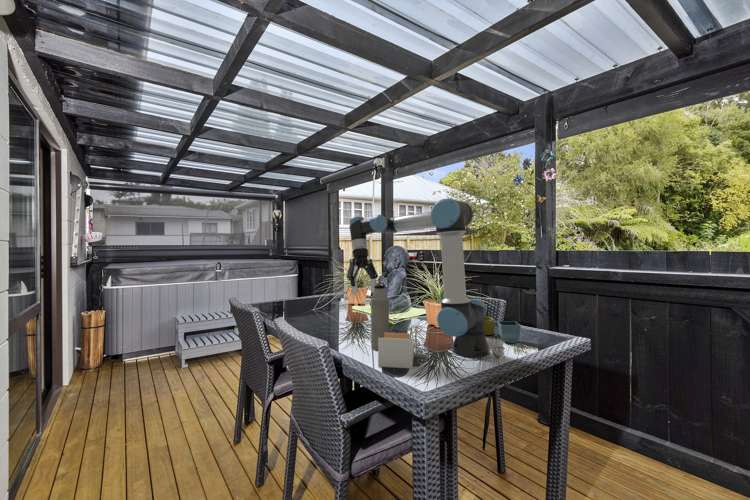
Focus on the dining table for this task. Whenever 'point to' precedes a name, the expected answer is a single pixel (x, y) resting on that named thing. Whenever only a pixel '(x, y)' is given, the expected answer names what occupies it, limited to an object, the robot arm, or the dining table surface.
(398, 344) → the white open box
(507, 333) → the flower pot
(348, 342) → the dining table surface
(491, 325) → the mug
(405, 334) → the pusher
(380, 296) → the thermos bottle
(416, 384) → the dining table surface
